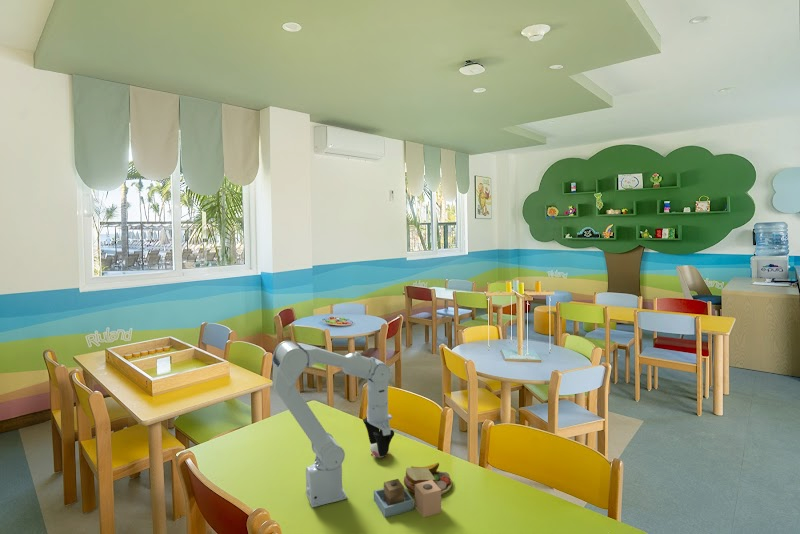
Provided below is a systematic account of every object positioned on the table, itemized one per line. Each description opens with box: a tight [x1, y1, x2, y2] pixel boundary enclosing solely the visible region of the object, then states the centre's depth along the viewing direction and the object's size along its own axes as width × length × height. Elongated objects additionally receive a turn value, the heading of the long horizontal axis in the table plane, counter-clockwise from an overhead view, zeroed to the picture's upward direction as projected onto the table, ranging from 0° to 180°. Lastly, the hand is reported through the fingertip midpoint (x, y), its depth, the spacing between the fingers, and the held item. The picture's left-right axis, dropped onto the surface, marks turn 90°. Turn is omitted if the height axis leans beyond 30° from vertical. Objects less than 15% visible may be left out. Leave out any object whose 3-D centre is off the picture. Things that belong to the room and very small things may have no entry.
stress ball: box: [369, 443, 391, 458], centre depth 143 cm, size 8×8×7 cm
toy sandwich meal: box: [403, 462, 453, 496], centre depth 126 cm, size 12×14×5 cm
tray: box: [373, 487, 415, 519], centre depth 118 cm, size 8×8×2 cm
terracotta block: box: [414, 480, 442, 518], centre depth 116 cm, size 5×5×6 cm
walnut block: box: [383, 478, 405, 506], centre depth 117 cm, size 4×4×5 cm
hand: (378, 449), depth 128 cm, fingers open, 7 cm apart
